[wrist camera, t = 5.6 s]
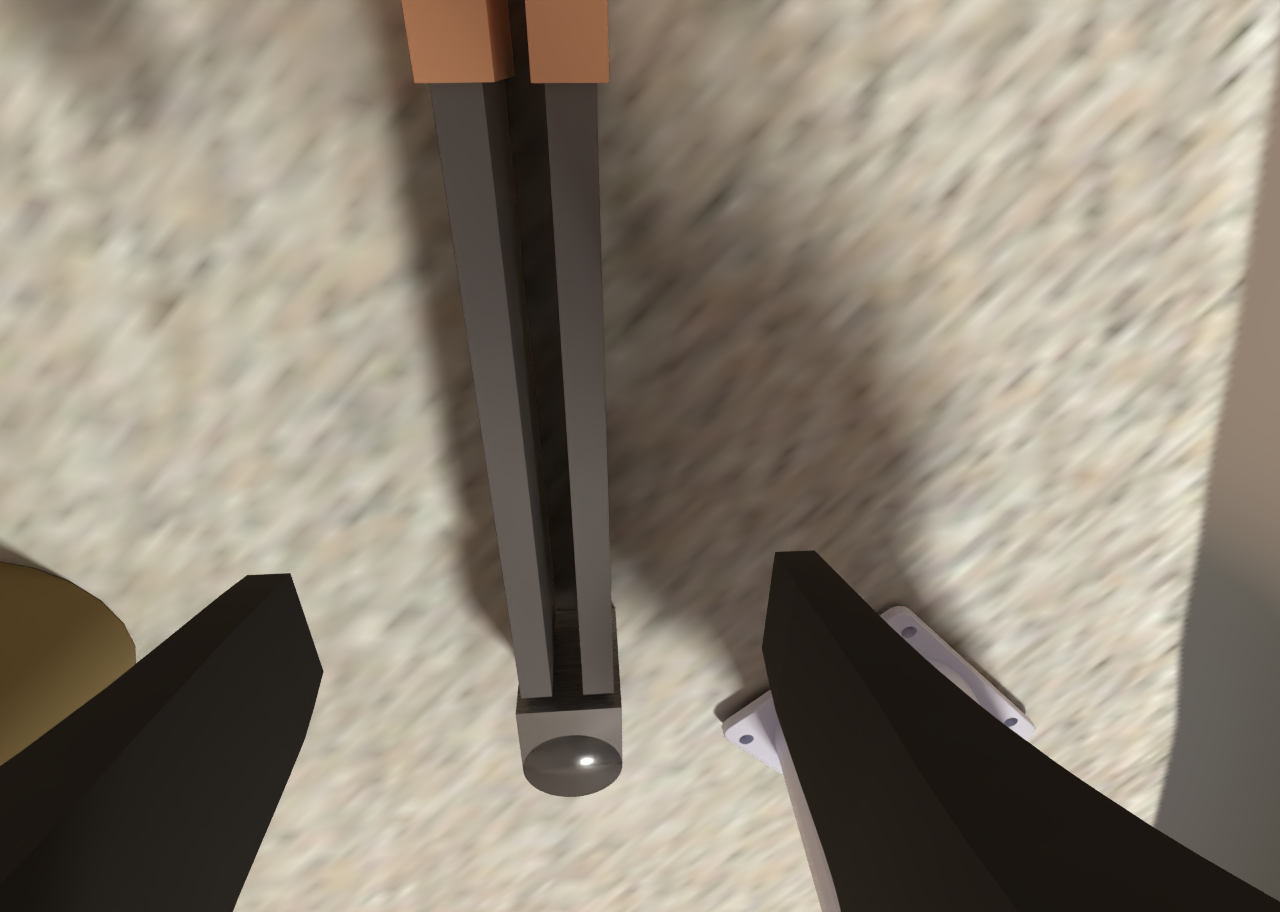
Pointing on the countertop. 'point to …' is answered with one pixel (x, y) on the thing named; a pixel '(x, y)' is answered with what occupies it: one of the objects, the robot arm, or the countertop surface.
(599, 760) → the tongs hub
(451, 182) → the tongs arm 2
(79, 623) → the cork
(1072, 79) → the countertop surface
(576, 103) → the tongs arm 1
